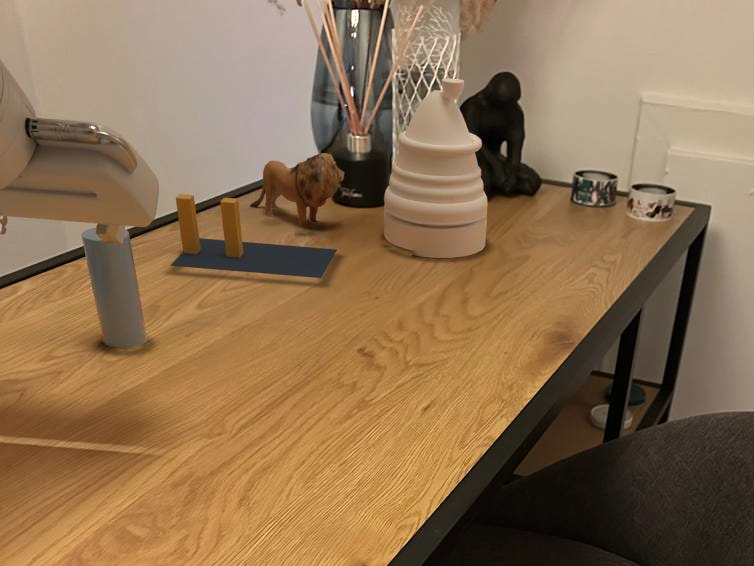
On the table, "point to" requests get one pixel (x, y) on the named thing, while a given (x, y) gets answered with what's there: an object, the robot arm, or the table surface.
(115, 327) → the grey cylinder
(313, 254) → the mat
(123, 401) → the table surface
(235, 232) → the post
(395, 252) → the table surface
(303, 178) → the lion figurine
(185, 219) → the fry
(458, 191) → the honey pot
